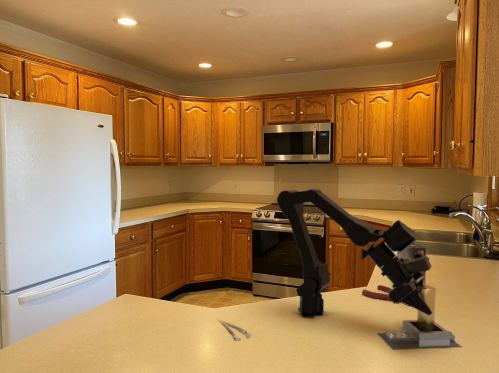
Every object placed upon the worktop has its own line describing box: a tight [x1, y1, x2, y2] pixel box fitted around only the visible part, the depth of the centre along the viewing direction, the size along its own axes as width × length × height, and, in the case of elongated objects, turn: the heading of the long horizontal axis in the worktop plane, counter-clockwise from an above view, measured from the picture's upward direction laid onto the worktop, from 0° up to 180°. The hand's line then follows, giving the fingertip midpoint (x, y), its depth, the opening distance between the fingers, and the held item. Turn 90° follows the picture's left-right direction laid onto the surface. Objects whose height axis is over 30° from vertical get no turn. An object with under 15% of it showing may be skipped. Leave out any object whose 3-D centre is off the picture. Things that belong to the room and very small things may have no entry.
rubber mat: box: [376, 332, 463, 351], centre depth 93 cm, size 18×9×1 cm, turn 95°
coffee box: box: [396, 244, 427, 285], centre depth 138 cm, size 9×6×16 cm
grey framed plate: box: [385, 319, 456, 348], centre depth 93 cm, size 17×8×4 cm, turn 95°
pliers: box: [361, 284, 411, 307], centre depth 125 cm, size 12×20×3 cm, turn 36°
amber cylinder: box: [416, 284, 437, 332], centre depth 93 cm, size 4×4×12 cm
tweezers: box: [217, 319, 252, 342], centre depth 102 cm, size 18×5×2 cm, turn 32°
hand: (432, 311), depth 93 cm, fingers closed on amber cylinder, 4 cm apart
